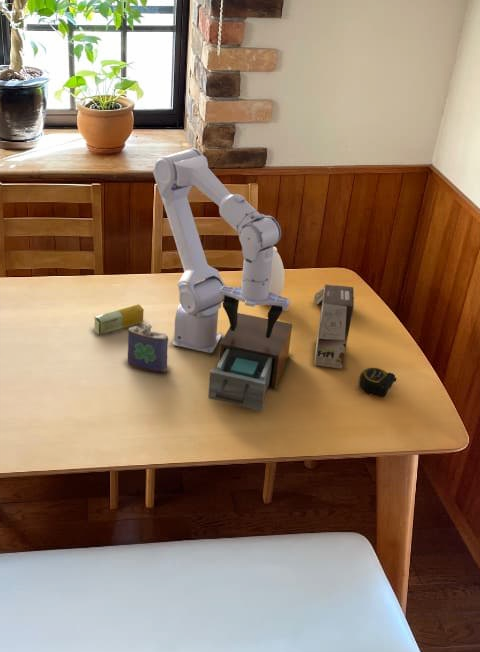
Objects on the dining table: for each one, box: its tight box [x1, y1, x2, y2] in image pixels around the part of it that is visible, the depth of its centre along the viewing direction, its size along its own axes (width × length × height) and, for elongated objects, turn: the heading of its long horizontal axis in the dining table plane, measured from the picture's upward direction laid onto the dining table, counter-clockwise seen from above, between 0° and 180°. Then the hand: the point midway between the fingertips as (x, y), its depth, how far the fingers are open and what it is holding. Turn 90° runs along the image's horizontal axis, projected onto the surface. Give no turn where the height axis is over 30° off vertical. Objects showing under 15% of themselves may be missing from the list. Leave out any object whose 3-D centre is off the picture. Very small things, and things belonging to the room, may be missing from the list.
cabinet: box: [218, 312, 293, 390], centre depth 175 cm, size 14×13×9 cm
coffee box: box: [314, 284, 355, 370], centre depth 177 cm, size 9×6×16 cm
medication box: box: [93, 303, 145, 336], centre depth 188 cm, size 12×3×4 cm, turn 120°
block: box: [230, 358, 259, 379], centre depth 167 cm, size 5×5×5 cm
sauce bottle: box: [269, 245, 286, 296], centre depth 195 cm, size 8×8×18 cm
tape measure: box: [358, 367, 398, 398], centre depth 170 cm, size 7×7×4 cm
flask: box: [127, 324, 169, 374], centre depth 173 cm, size 9×3×11 cm, turn 68°
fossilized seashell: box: [313, 285, 325, 307], centre depth 198 cm, size 8×7×10 cm
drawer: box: [207, 348, 275, 412], centre depth 165 cm, size 18×11×7 cm, turn 161°
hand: (251, 332), depth 170 cm, fingers open, 7 cm apart
